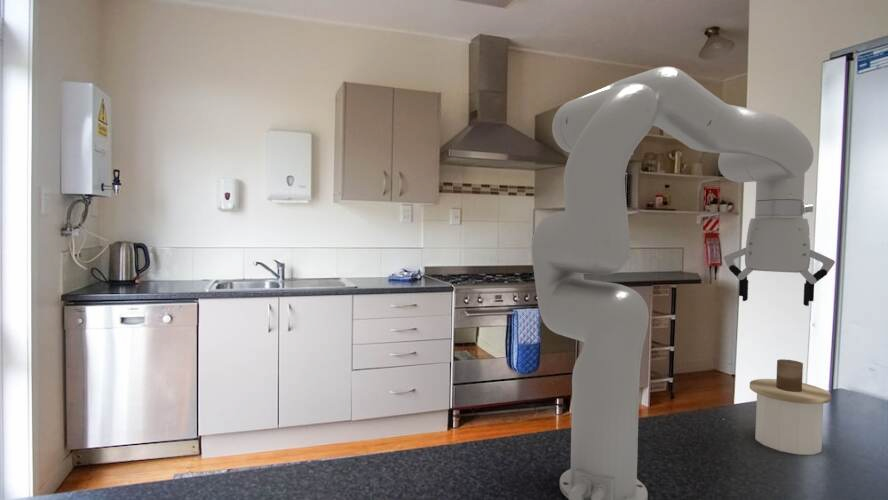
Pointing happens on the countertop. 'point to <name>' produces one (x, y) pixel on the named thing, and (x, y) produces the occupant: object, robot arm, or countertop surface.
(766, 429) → the pot
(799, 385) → the lid
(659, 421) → the countertop surface
